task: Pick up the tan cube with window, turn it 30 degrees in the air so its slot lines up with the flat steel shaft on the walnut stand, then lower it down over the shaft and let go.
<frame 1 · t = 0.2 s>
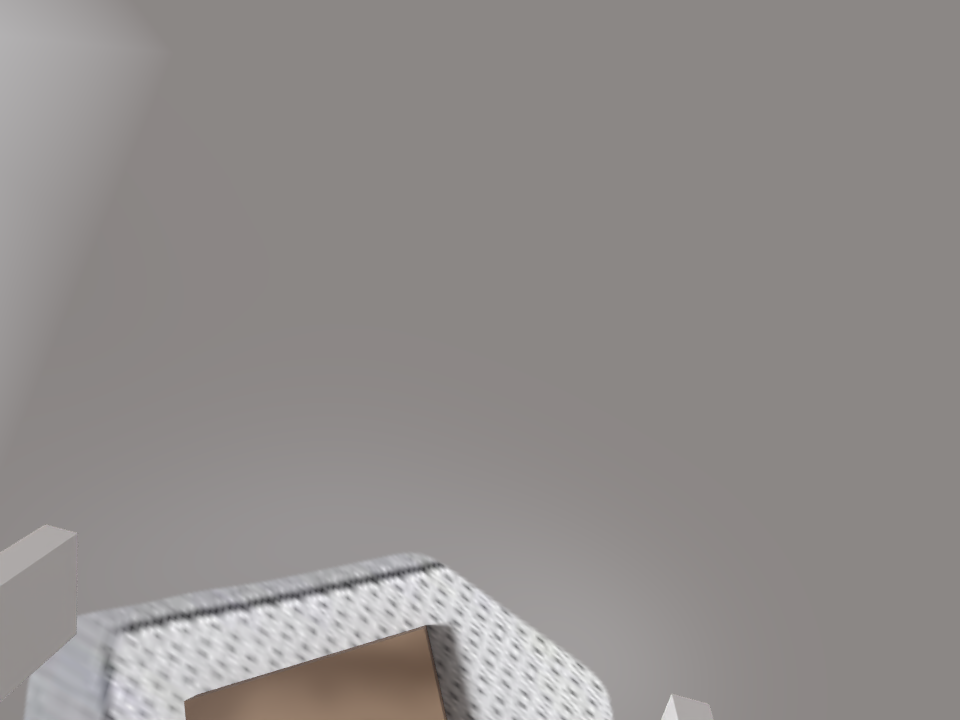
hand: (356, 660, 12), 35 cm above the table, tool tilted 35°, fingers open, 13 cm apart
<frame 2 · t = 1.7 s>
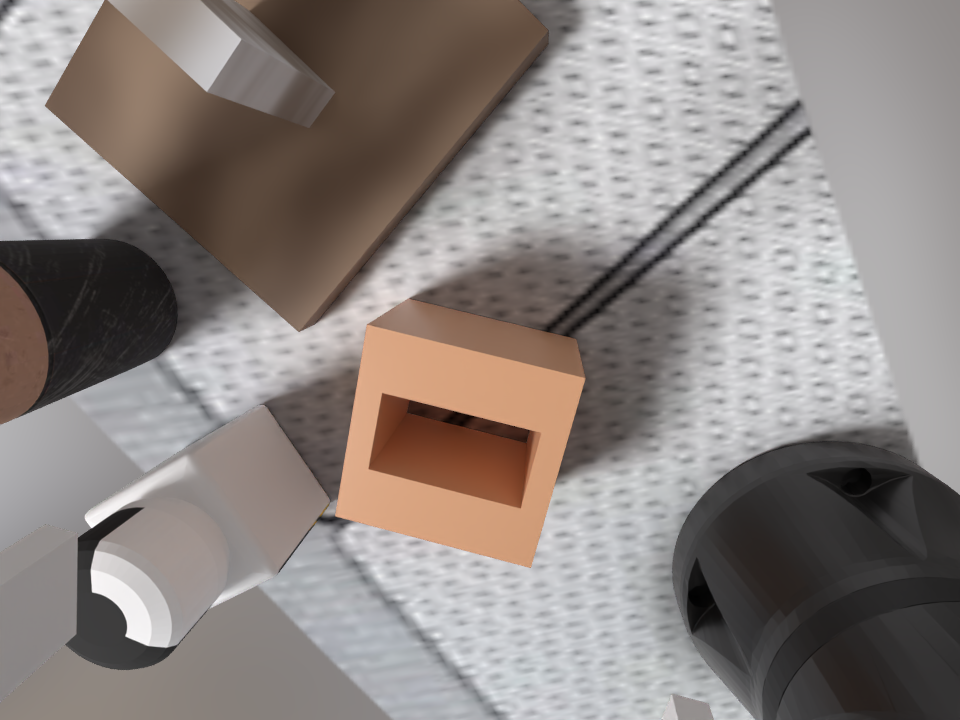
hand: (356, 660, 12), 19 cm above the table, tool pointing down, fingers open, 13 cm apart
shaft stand: (299, 80, 27), on the table
medicine bottle: (255, 475, 33), on the table
travel mug: (121, 303, 31), on the table
tan cube with window: (473, 397, 30), on the table
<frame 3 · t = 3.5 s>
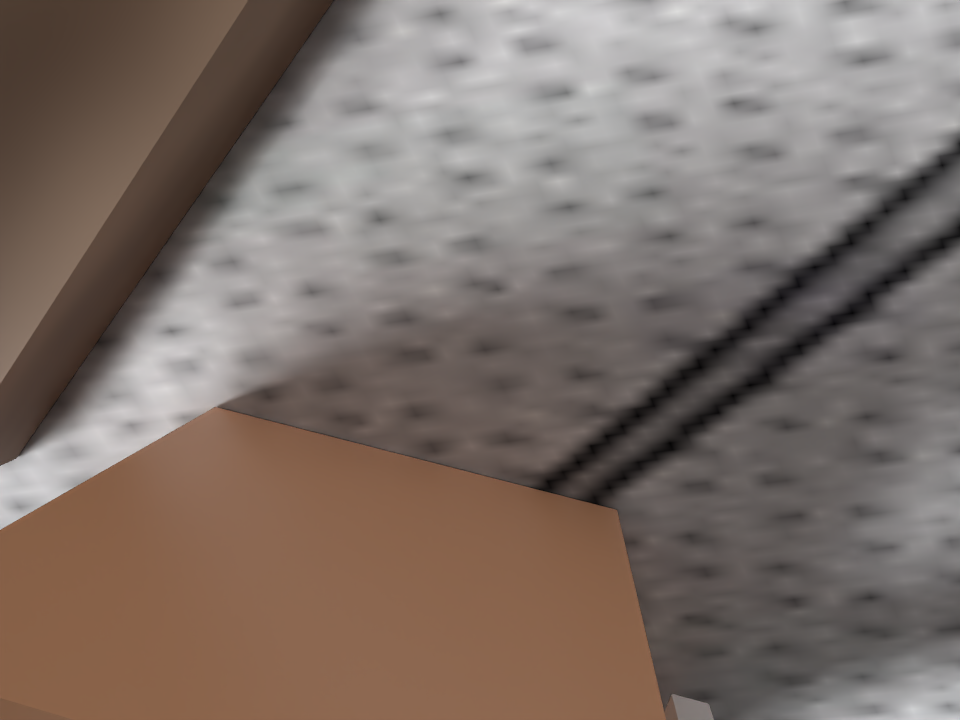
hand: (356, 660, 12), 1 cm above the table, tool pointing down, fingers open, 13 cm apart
tan cube with window: (377, 626, 13), on the table
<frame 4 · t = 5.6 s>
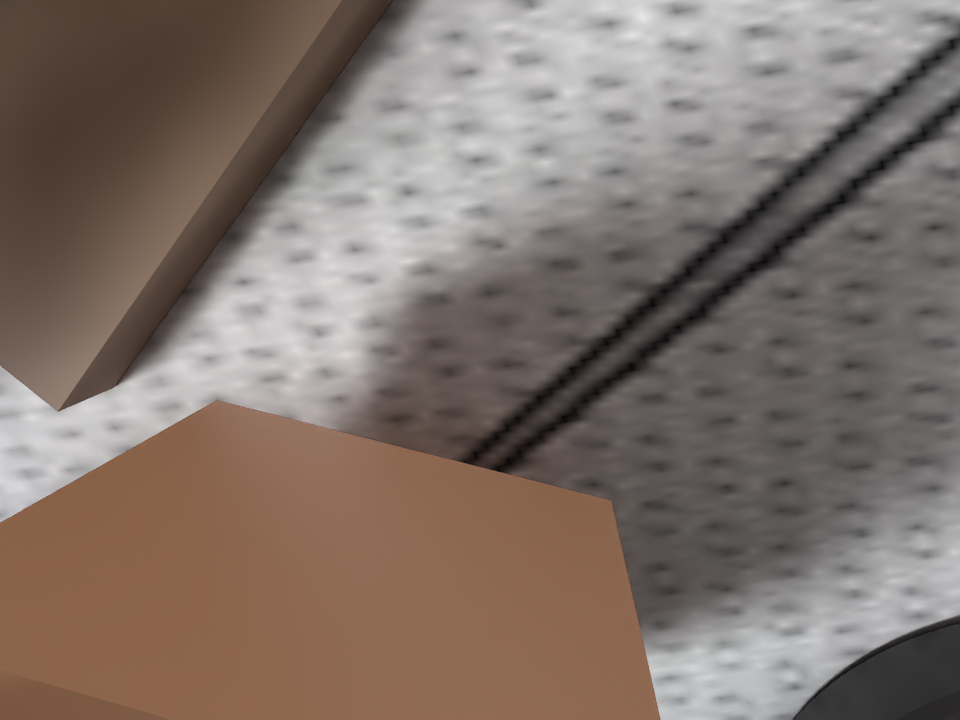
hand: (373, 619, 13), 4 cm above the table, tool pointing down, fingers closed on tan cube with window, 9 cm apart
tan cube with window: (376, 615, 13), point 3 cm above the table, touching gripper
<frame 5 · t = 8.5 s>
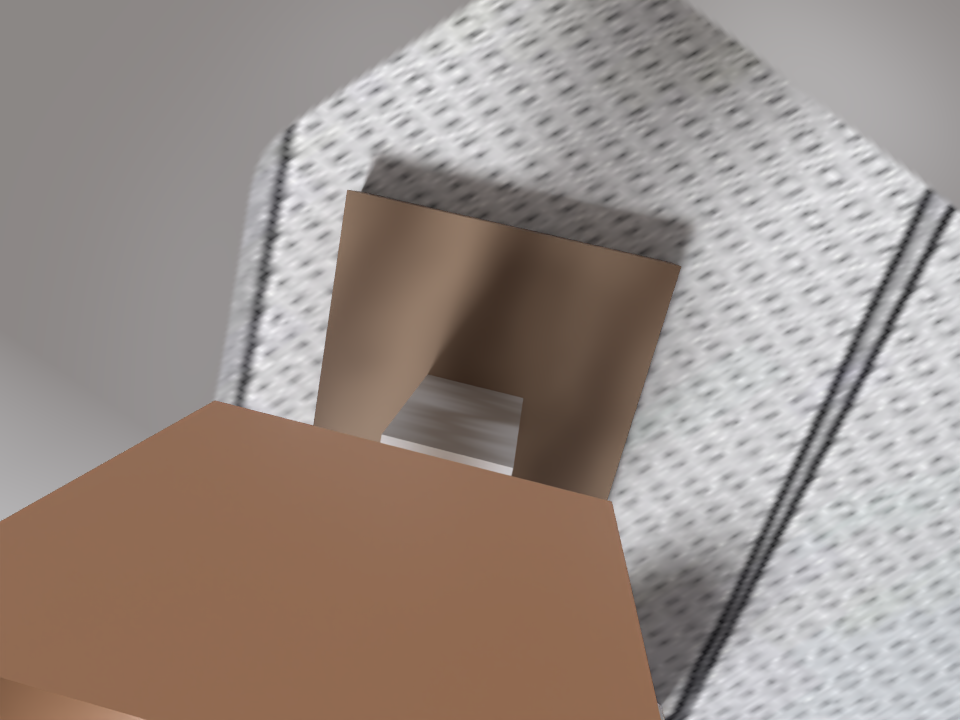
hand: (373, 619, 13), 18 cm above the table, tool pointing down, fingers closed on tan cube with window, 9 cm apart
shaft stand: (476, 392, 30), on the table
medicine bottle: (582, 710, 35), on the table
tan cube with window: (375, 617, 13), point 18 cm above the table, touching gripper
when the fingers open (5 cm above the table, at t = 11.6 s): tan cube with window drops 3 cm, resting on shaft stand.
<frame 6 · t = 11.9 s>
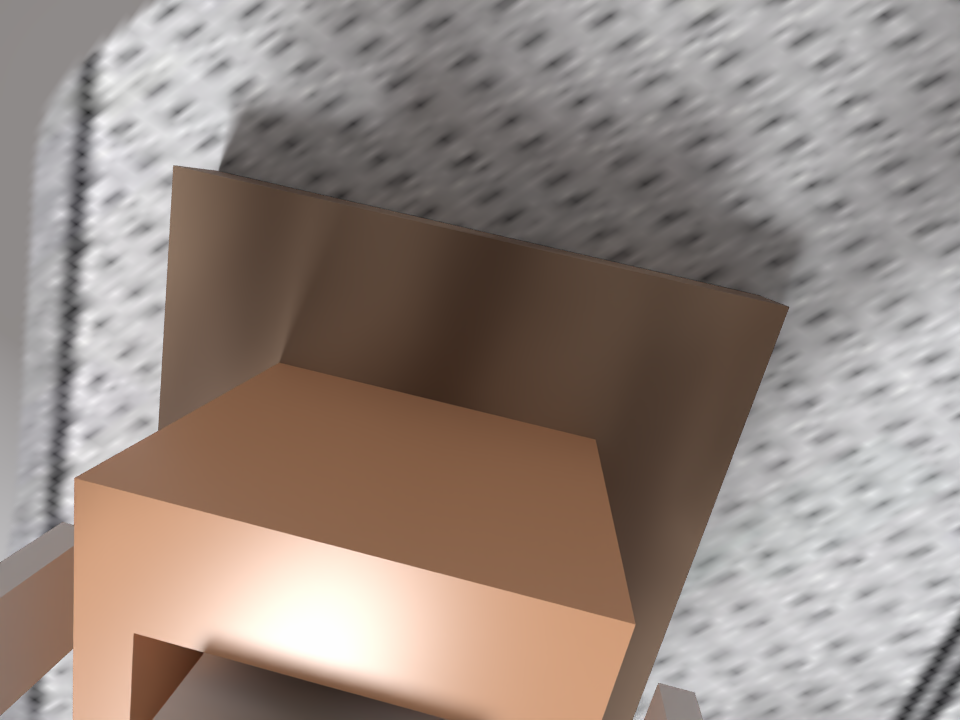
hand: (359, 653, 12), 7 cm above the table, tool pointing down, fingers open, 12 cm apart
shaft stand: (423, 503, 18), on the table
tan cube with window: (406, 539, 16), point 2 cm above the table, touching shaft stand
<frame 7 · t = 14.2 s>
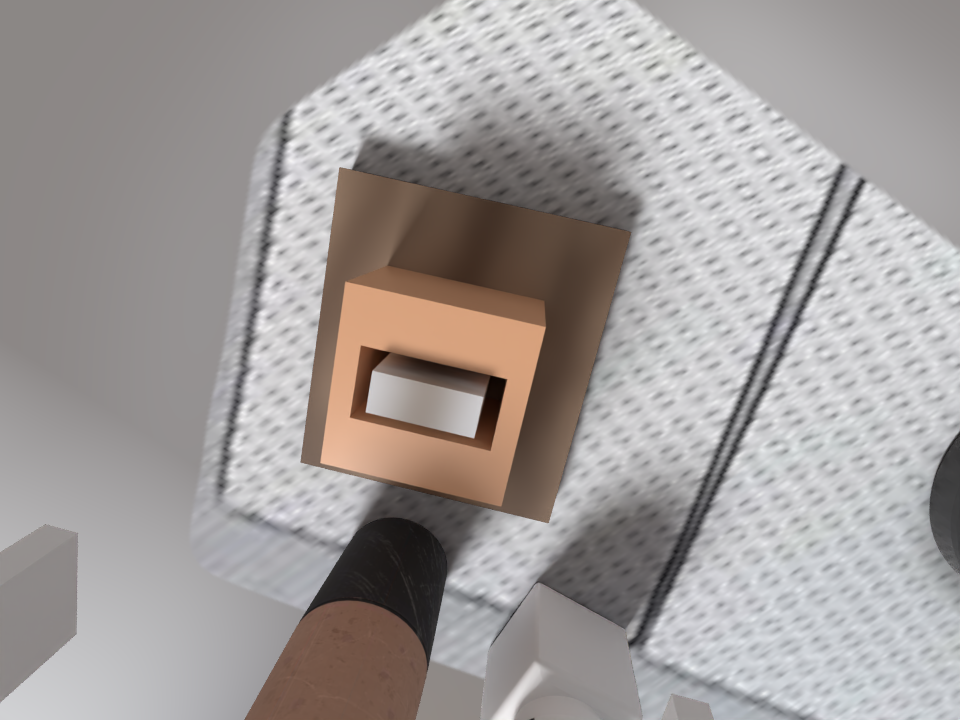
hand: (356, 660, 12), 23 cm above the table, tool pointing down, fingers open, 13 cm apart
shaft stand: (456, 349, 34), on the table
medicine bottle: (555, 636, 39), on the table
travel mug: (397, 560, 39), on the table
tan cube with window: (450, 358, 32), point 2 cm above the table, touching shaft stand
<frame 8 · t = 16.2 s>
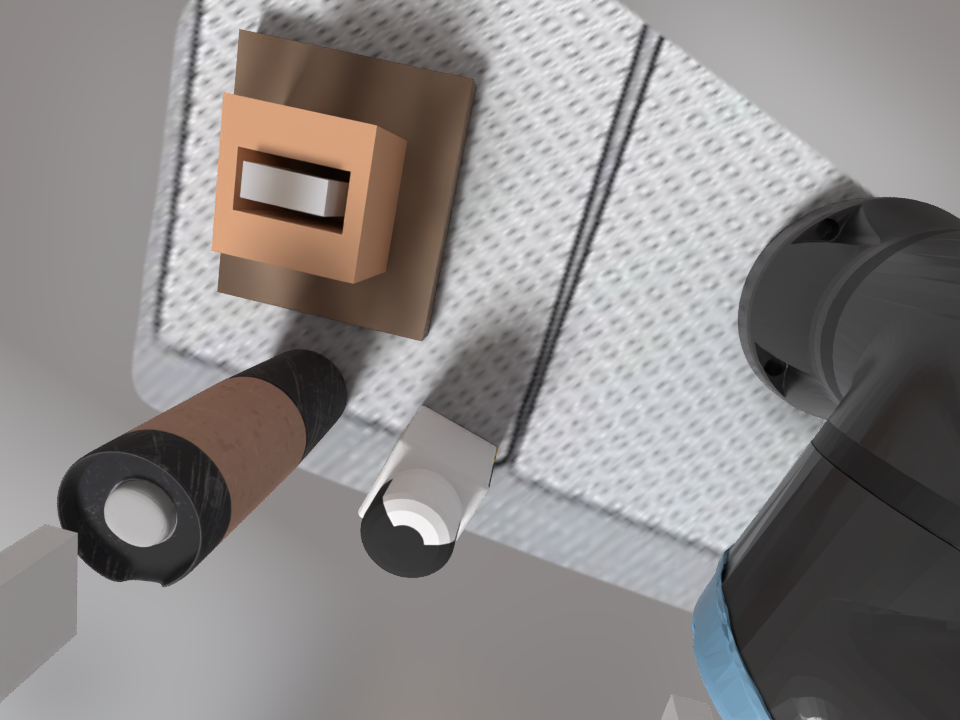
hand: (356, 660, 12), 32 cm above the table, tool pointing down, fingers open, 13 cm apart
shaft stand: (345, 194, 41), on the table
medicine bottle: (440, 458, 46), on the table
travel mug: (306, 390, 46), on the table
tan cube with window: (334, 194, 39), point 2 cm above the table, touching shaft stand
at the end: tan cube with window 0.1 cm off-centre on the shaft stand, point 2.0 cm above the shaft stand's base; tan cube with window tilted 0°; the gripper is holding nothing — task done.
